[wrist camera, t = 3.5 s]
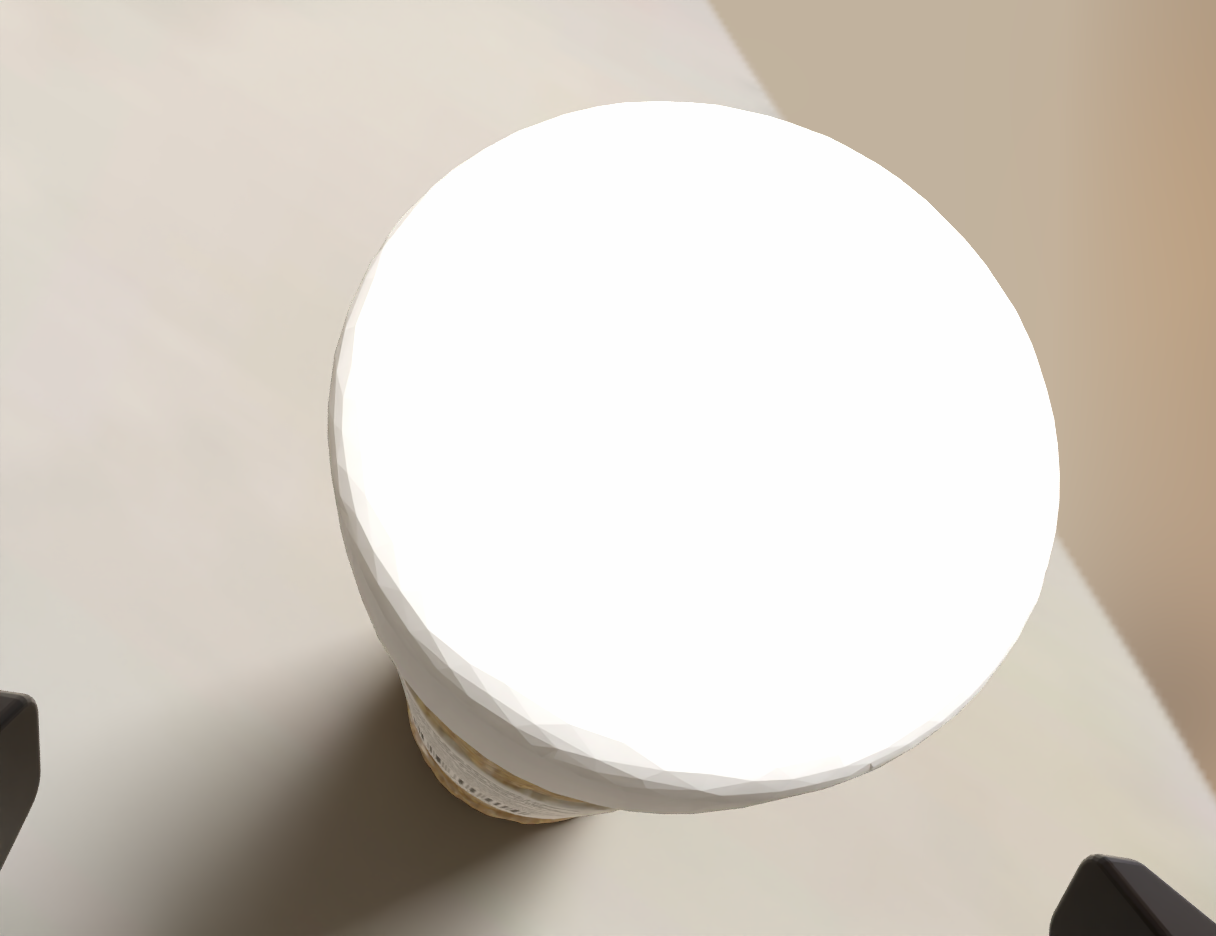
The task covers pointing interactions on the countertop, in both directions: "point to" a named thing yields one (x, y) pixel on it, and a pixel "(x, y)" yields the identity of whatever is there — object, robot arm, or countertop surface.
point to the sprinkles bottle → (684, 465)
